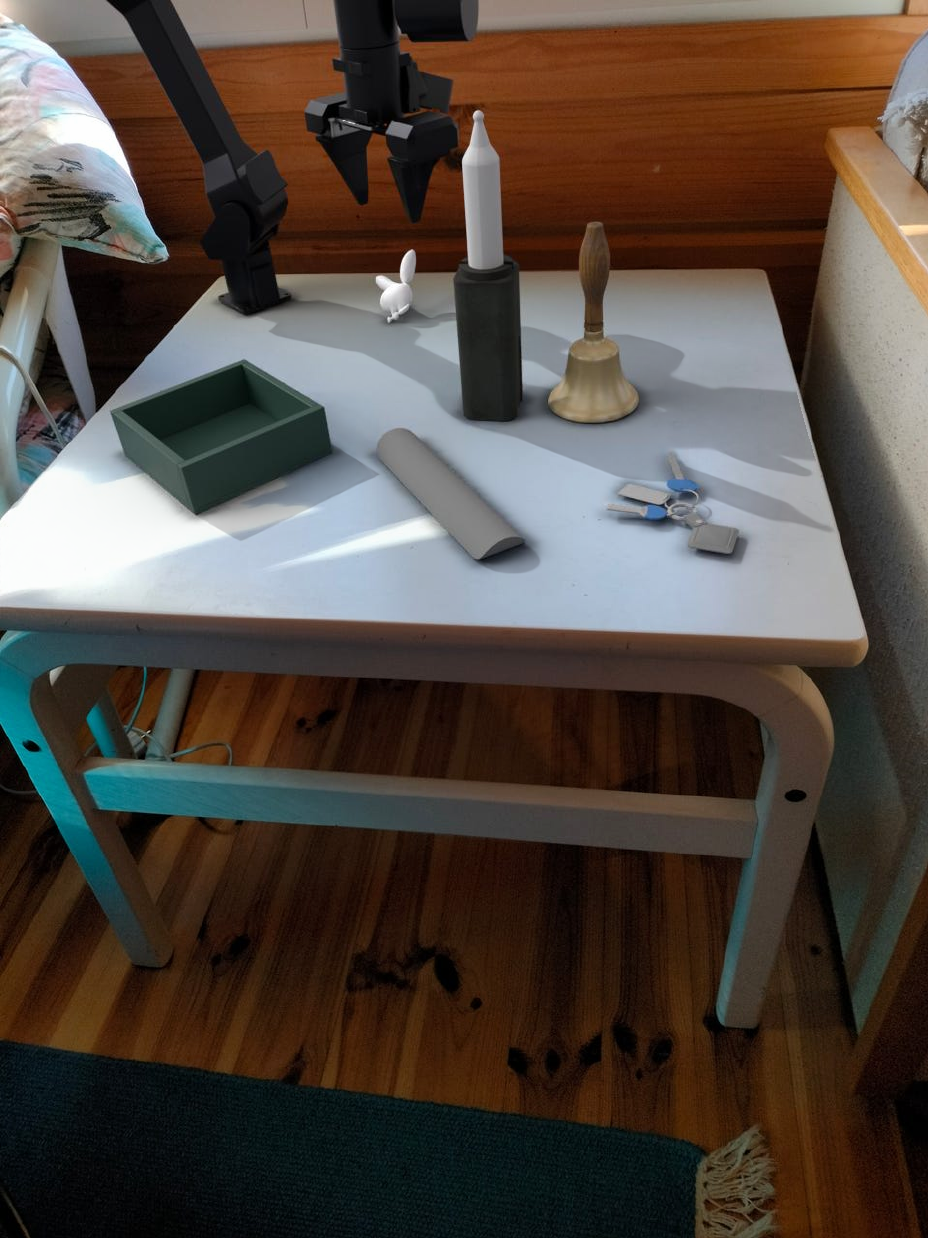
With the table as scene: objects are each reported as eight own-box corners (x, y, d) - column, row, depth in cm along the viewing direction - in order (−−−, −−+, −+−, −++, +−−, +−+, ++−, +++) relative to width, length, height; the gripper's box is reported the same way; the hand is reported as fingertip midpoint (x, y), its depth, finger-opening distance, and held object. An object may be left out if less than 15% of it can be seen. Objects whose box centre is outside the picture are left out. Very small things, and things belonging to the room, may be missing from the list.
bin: (124, 455, 87) (109, 410, 84) (254, 402, 93) (244, 358, 90) (195, 515, 79) (181, 467, 76) (332, 452, 85) (324, 406, 82)
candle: (516, 421, 87) (505, 118, 71) (461, 419, 88) (438, 119, 72) (524, 394, 91) (516, 101, 74) (471, 393, 92) (452, 102, 75)
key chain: (753, 552, 70) (754, 543, 69) (647, 576, 69) (648, 566, 68) (672, 458, 80) (673, 449, 80) (579, 477, 79) (579, 468, 78)
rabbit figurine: (367, 325, 105) (366, 268, 108) (391, 342, 108) (390, 286, 111) (407, 299, 102) (405, 241, 105) (431, 317, 105) (429, 261, 108)
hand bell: (533, 414, 88) (529, 236, 77) (569, 374, 93) (570, 203, 83) (619, 430, 84) (627, 247, 74) (651, 389, 90) (663, 212, 80)
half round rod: (481, 567, 71) (479, 548, 70) (373, 453, 84) (370, 435, 83) (530, 548, 72) (530, 529, 71) (416, 439, 86) (414, 421, 84)
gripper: (497, 37, 89) (504, 211, 99) (380, 20, 101) (396, 177, 111) (402, 60, 84) (419, 241, 94) (289, 39, 96) (316, 202, 106)
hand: (388, 212), depth 101 cm, fingers open, 9 cm apart
